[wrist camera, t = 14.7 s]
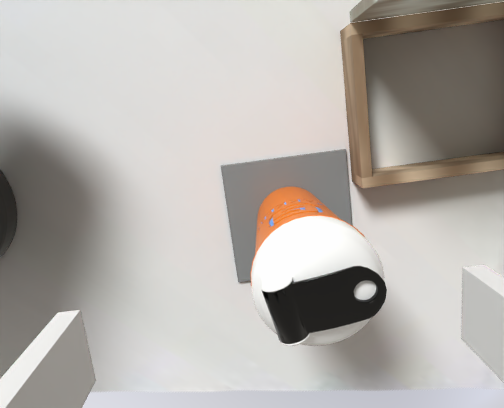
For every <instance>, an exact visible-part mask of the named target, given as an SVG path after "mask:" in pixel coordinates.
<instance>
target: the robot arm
mask: <svg viewBox="0 0 504 408" xmlns="http://www.w3.org/2000/svg"><path fill="white" fill-rule="evenodd" d="M16 222H17V211H16V203H15V199H14V196H13V193H12V190H11V188H10V186H9V183H8V182H7V180H6V178H5V177H4V175H3V173H2V172H1V171H0V257H1V256H2V255H3V254H4V253H5V251H6V250H7V249H8V247H9V245H10V243H11V241H12V239H13V236H14V233H15V229H16ZM461 339H462V340H463V341H464V342H465V343H466V344H467V345H468V346H469V347H470V348H471V349H472V351H473V352H474V353H475V354H476V355H477V356H478V357H479V358H480V359H481V360H482V361H483V362H484V363H485V364H486V365H487V366H488V367H489V368H490V369H491V370H492V371H493V372H494V373H495V374H496V375H497V377H498V378H499V379H500V380H501V381H502V382H503V383H504V277H503V276H501V275H500V274H498V273H497V272H495V271H493V270H492V269H490V268H489V267H487V266H486V265H477V266H468V267H462V325H461ZM95 381H96V379H95V374H94V370H93V365H92V361H91V356H90V351H89V347H88V342H87V338H86V333H85V329H84V324H83V320H82V315H81V311H80V310H75V311H66V312H58V313H57V314H56V315H55V316H54V317H53V319H52V320H51V321H50V322H49V323H48V324H47V325H46V327H45V328H44V329H43V330H42V331H41V332H40V334H39V335H38V336H37V337H36V338H35V339H34V341H33V342H32V343H31V344H30V345H29V346H28V347H27V349H26V350H25V351H24V352H23V353H22V354H21V356H20V357H19V358H18V359H17V360H16V361H15V362H14V364H13V365H12V366H11V367H10V368H9V369H8V371H7V372H6V373H5V374H4V375H3V376H2V377H1V379H0V408H82V406H83V404H84V402H85V400H86V399H87V397H88V394H89V393H90V391H91V389H92V387H93V385H94V383H95Z"/></svg>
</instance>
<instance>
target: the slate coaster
mask: <svg viewBox="0 0 504 408" xmlns="http://www.w3.org/2000/svg"><path fill="white" fill-rule="evenodd" d="M221 171H222V177H223V184H224V191H225V197H226V204H227V211H228V217H229V224H230V230H231V237H232V244H233V250H234V257H235V264H236V270H237V277H238V282H243V281H251V268H252V262H253V259H254V257H255V248H256V231H257V216H258V211H259V208H260V206H261V204H262V202H263V201H264V199H265V198H266V197H267V196H268V195H269V194H271V193H272V192H273V191H275V190H277V189H280V188H283V187H299V188H302V189H305V190H307V191H309V192H310V193H312V194H313V195H314V196H315V197H316V198H317V199H318V200H320V201H321V202H322V203H323V204H324V205H325V206H326V207H327V208H329V209H330V210H331V211H332V212H333V213H334V214H335V215H336V216H338V217H339V218H340V219H341V220H343V221H345V222H347V223H349V224H350V225H352V221H351V209H350V196H349V184H348V172H347V159H346V149H341V150H334V151H326V152H319V153H311V154H304V155H297V156H289V157H282V158H274V159H267V160H259V161H252V162H245V163H237V164H230V165H222V166H221Z"/></svg>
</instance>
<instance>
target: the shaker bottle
mask: <svg viewBox="0 0 504 408" xmlns="http://www.w3.org/2000/svg"><path fill="white" fill-rule="evenodd" d="M251 287H252V297H253V301H254V305H255V307H256V309H257V311H258V314H259V316H260V317H261V319H262V320H263V321H264V322H265V324H266V325H267V326H268V327H269V328H270V329H271V330H272V331H274V332H275V333H276V334H277V335H278V337H279V340H280V342H281V343H282V344H283V345H286V346H294V345H298V344H302V345H309V346H319V345H328V344H333V343H337V342H339V341H342V340H344V339H347V338H349V337H350V336H352V335H353V334H355V333H357V332H358V331H359V330H361V329H362V328H363V327H364V326H365V325H366V324H367V323H368V322H369V321H370V319H371V318H372V317H373V316H374V315H376V313H377V312H378V311H379V310H380V309H381V307H382V305H383V303H384V301H385V298H386V291H387V289H386V286H385V282H384V272H383V267H382V264H381V261H380V259H379V256H378V254H377V252H376V251H375V250H374V248H373V247H372V245H371V244H370V243H369V242H368V241H367V239H366V238H365V236H364V235H363V234H362V233H361V232H359V231H358V230H357V229H356V228H355V227H353V226H352V225H350V224H349V223H347V222H345V221H343V220H341V219H340V218H339V217H338V216H336V215H335V214H334V213H333V212H332V211H331V210H330V209H329V208H327V207H326V206H325V205H324V204H323V203H322V202H321V201H320V200H318V199H317V198H316V197H315V196H314V195H313V194H312V193H310V192H309V191H307V190H305V189H302V188H299V187H283V188H280V189H277V190H275V191H273V192H272V193H271V194H269V195H268V196H267V197H266V198H265V199H264V201H263V202H262V204H261V206H260V208H259V211H258V216H257V231H256V248H255V257H254V259H253V262H252V268H251Z"/></svg>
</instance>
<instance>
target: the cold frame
mask: <svg viewBox="0 0 504 408" xmlns="http://www.w3.org/2000/svg"><path fill="white" fill-rule="evenodd" d="M502 1H504V0H362V1H361V2H360V3H358V4H357V5H356V6H355V7H354V8H353V9H352V10H351V11H350V22H355V23H350V24H349V25H347V26H346V27H345V28H344V29H342V30H341V31H340V34H341V46H342V59H343V72H344V84H345V97H346V110H347V122H348V135H349V148H350V160H351V173H352V181H353V182H354V183H355V184H357V185H358V186H360V187H361V188H369V187H377V186H384V185H392V184H399V183H407V182H414V181H422V180H429V179H437V178H444V177H452V176H459V175H467V174H474V173H482V172H489V171H497V170H504V152H497V153H489V154H482V155H474V156H467V157H459V158H452V159H444V160H437V161H429V162H422V163H415V164H407V165H400V166H392V167H385V168H377V169H372V166H371V151H370V136H369V121H368V107H367V92H366V77H365V62H364V48H363V39H366V38H374V37H381V36H388V35H395V34H403V33H410V32H417V31H424V30H432V29H439V28H446V27H453V26H461V25H468V24H475V23H482V22H490V21H497V20H504V2H502ZM495 2H499V3H495ZM487 3H492V4H487ZM480 4H485V5H480ZM473 5H477V6H473ZM466 6H470V7H466ZM459 7H463V8H459ZM451 8H456V9H451ZM444 9H449V10H444ZM437 10H441V11H437ZM430 11H434V12H430ZM422 12H427V13H422ZM415 13H420V14H415ZM408 14H412V15H408ZM401 15H405V16H401ZM394 16H398V17H394ZM386 17H391V18H386ZM379 18H384V19H379ZM372 19H376V20H372ZM365 20H369V21H365ZM358 21H362V22H358Z"/></svg>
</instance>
